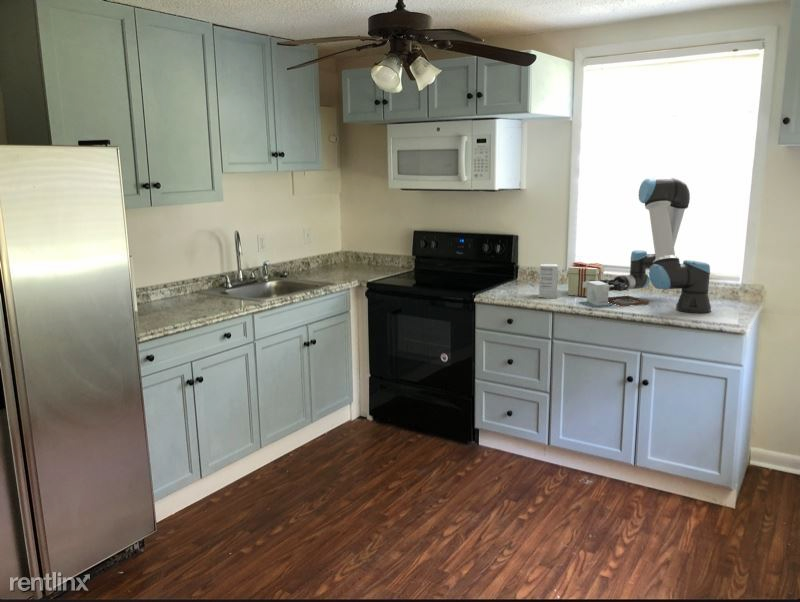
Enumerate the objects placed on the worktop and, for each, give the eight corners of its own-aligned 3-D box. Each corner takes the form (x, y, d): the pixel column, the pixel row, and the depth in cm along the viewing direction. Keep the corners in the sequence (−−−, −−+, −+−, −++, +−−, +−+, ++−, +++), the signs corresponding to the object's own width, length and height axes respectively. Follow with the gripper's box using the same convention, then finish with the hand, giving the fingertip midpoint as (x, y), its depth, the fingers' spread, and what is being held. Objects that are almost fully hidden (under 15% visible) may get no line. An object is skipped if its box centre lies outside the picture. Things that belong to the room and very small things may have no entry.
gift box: (604, 292, 364) (605, 260, 361) (597, 298, 348) (598, 265, 345) (572, 290, 372) (574, 259, 368) (564, 295, 356) (565, 263, 352)
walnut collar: (648, 304, 332) (648, 301, 331) (621, 306, 326) (621, 303, 326) (627, 298, 346) (627, 295, 346) (601, 300, 341) (601, 297, 341)
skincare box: (585, 301, 336) (586, 281, 334) (597, 300, 338) (598, 280, 336) (596, 305, 326) (597, 284, 324) (608, 305, 328) (609, 283, 326)
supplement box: (557, 298, 348) (558, 266, 345) (538, 298, 350) (540, 266, 347) (556, 295, 357) (557, 263, 354) (538, 294, 359) (539, 263, 356)
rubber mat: (614, 305, 329) (614, 304, 328) (593, 307, 325) (593, 306, 325) (599, 301, 340) (599, 300, 340) (579, 303, 336) (579, 301, 336)
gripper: (643, 294, 329) (612, 298, 319) (604, 286, 351) (574, 290, 340) (644, 279, 328) (613, 283, 318) (605, 272, 349) (575, 275, 339)
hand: (593, 286), depth 329 cm, fingers open, 13 cm apart
